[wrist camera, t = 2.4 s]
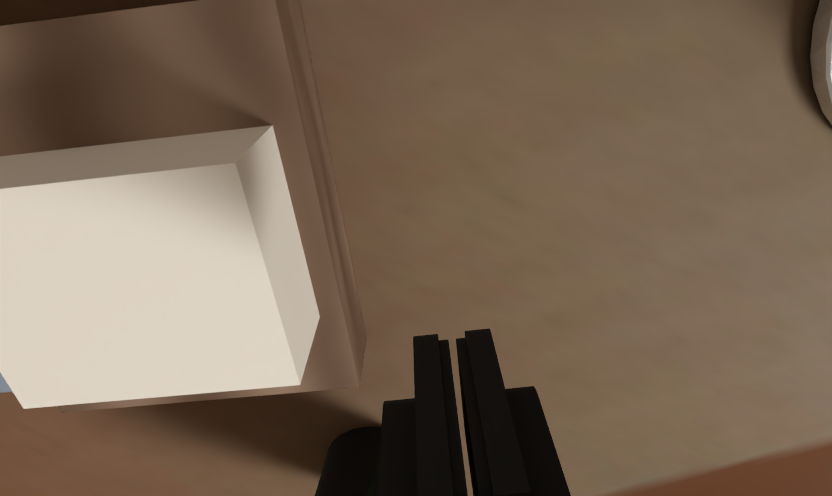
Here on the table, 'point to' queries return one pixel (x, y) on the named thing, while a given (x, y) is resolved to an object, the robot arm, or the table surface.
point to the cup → (352, 464)
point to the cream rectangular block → (151, 270)
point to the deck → (195, 127)
